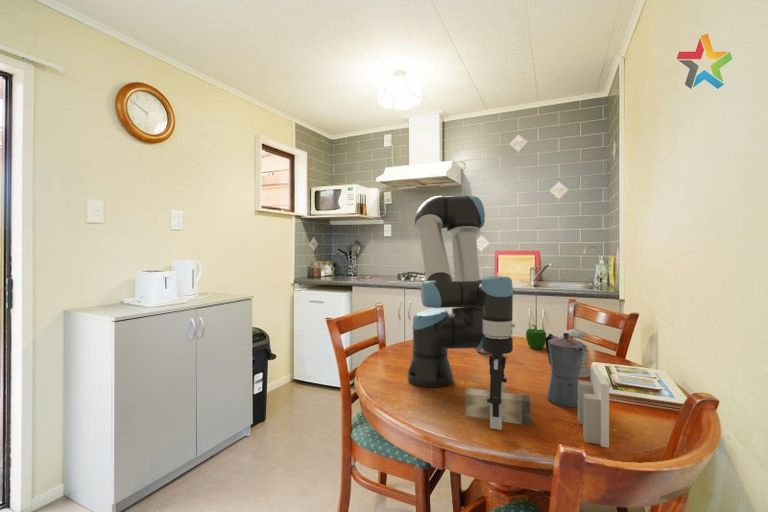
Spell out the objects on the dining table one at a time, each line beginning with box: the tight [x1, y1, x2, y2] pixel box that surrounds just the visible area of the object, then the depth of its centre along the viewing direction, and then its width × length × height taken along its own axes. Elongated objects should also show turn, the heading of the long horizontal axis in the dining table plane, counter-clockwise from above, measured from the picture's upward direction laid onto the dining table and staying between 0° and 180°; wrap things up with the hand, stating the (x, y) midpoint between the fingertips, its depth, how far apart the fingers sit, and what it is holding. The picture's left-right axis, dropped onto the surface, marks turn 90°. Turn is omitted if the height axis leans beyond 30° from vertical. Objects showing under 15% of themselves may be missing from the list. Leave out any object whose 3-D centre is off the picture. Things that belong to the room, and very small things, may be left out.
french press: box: [558, 301, 590, 378], centre depth 129 cm, size 10×12×25 cm
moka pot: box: [545, 332, 586, 408], centre depth 105 cm, size 10×15×20 cm, turn 16°
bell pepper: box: [525, 323, 547, 350], centre depth 161 cm, size 8×8×10 cm
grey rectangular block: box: [464, 387, 532, 426], centre depth 96 cm, size 16×4×6 cm, turn 69°
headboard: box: [577, 364, 610, 449], centre depth 88 cm, size 4×14×14 cm, turn 159°
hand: (497, 416), depth 95 cm, fingers open, 13 cm apart
